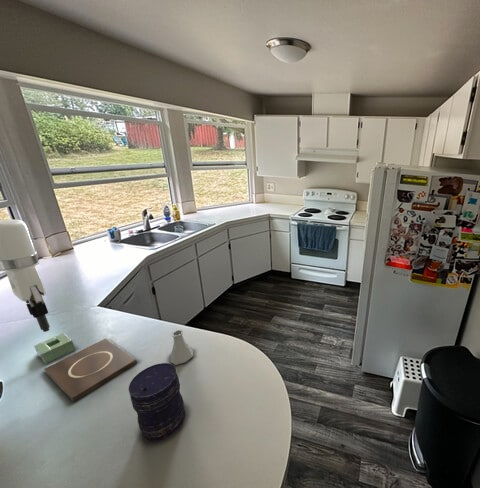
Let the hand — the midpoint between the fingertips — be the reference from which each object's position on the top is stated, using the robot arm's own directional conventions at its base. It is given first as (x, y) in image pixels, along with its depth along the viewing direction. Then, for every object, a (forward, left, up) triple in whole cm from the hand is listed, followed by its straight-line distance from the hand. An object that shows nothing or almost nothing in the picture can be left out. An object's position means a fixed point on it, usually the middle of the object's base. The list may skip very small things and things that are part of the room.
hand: (39, 313), depth 80 cm
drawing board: (+3, -18, -16) cm, 24 cm away
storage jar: (+4, -55, -16) cm, 58 cm away
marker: (0, 0, -7) cm, 7 cm away
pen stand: (0, 0, -16) cm, 16 cm away
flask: (+20, -38, -16) cm, 46 cm away
